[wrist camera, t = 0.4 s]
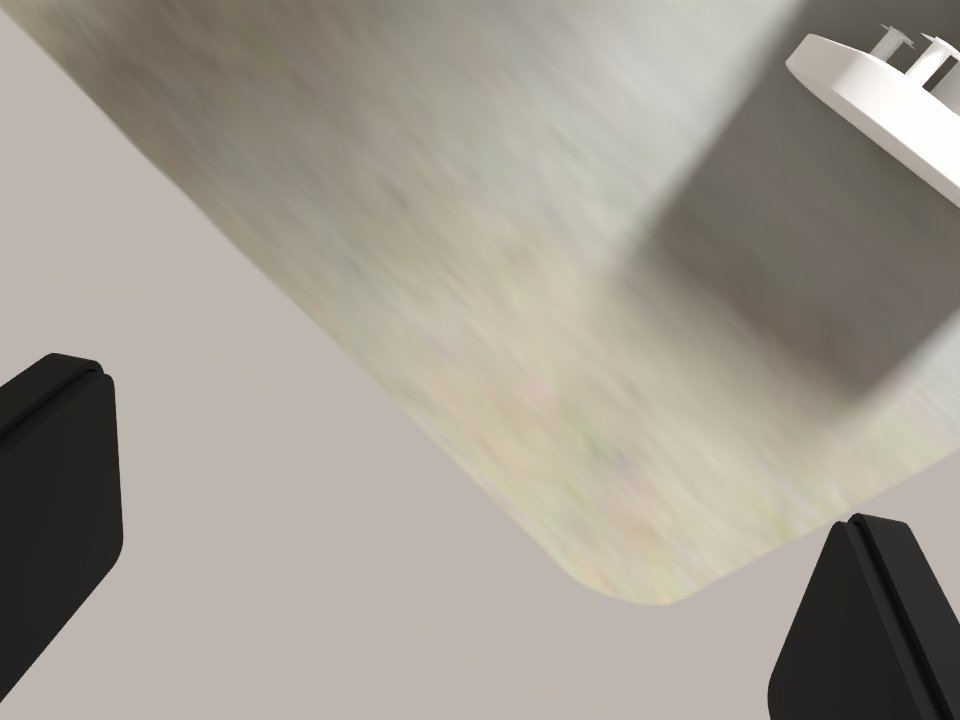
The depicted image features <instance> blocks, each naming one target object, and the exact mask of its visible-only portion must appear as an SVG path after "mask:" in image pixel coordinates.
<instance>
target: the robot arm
mask: <svg viewBox="0 0 960 720" xmlns="http://www.w3.org/2000/svg"><path fill="white" fill-rule="evenodd" d="M122 545H123V522H122V506H121V490H120V472H119V456H118V438H117V421H116V404H115V387H114V382H113V379H112V377H111V376H109V375H107V374H104V372H103V369H102V367H101V365H100V364H99V363H98V362H97V361H93V360H88V359H84V358H78V357H73V356H69V355H63V354H58V353H51V354H48V355H46V356H44V357H43V358H42V359H40V360H39V361H37V362H36V363H34V364H33V365H32V366H30V367H29V368H27V369H26V370H24V371H23V372H21V373H20V374H19V375H17V376H16V377H14V378H13V379H11V380H10V381H9V382H7V383H6V384H4V385H3V386H1V387H0V703H1V701H2V700H3V699H4V698H5V697H6V695H7V694H8V693H9V692H10V691H11V689H12V688H13V687H14V686H15V684H16V683H17V682H18V681H19V680H20V678H21V677H22V676H23V675H24V674H25V672H26V671H27V670H28V669H29V668H30V666H31V665H32V664H33V663H34V662H35V660H36V659H37V658H38V657H39V655H40V654H41V653H42V652H43V651H44V650H45V648H46V647H47V646H48V645H49V643H50V642H51V641H52V640H53V639H54V637H55V636H56V635H57V634H58V633H59V631H60V630H61V629H62V628H63V627H64V625H65V624H66V623H67V621H68V620H69V619H70V618H71V617H72V616H73V614H74V613H75V612H76V611H77V610H78V608H79V607H80V606H81V605H82V604H83V602H84V601H85V600H86V599H87V598H88V596H89V595H90V594H91V593H92V591H93V590H94V589H95V588H96V587H97V586H98V584H99V583H100V582H101V581H102V579H103V578H104V577H105V576H106V575H107V573H108V572H109V571H110V570H111V569H112V567H113V566H114V564H115V563H116V561H117V559H118V557H119V555H120V552H121V549H122ZM768 709H769V714H770V719H771V720H960V624H959V622H958V620H957V618H956V616H955V614H954V612H953V610H952V608H951V606H950V604H949V602H948V600H947V598H946V597H945V595H944V593H943V591H942V589H941V587H940V585H939V583H938V581H937V579H936V577H935V575H934V573H933V572H932V569H931V568H930V566H929V564H928V562H927V560H926V558H925V556H924V554H923V552H922V550H921V548H920V546H919V544H918V542H917V541H916V539H915V537H914V535H913V533H912V531H911V529H910V528H909V526H908V525H907V524H906V523H904V522H900V521H895V520H890V519H885V518H880V517H875V516H870V515H865V514H860V513H856V514H854V515H853V516H852V517H851V518H850V519H849V520H848V522H847V523H846V522H841V521H838V522H836V523H835V524H834V525H833V526H832V528H831V530H830V532H829V535H828V537H827V540H826V542H825V544H824V547H823V549H822V552H821V554H820V557H819V559H818V562H817V564H816V567H815V569H814V571H813V574H812V576H811V579H810V581H809V584H808V586H807V589H806V591H805V594H804V596H803V599H802V601H801V603H800V606H799V608H798V611H797V613H796V616H795V618H794V621H793V623H792V625H791V628H790V631H789V633H788V635H787V638H786V640H785V643H784V645H783V648H782V650H781V653H780V655H779V657H778V660H777V662H776V665H775V667H774V670H773V672H772V675H771V678H770V681H769V686H768Z"/></svg>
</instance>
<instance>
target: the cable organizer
mask: <svg viewBox="0 0 960 720" xmlns="http://www.w3.org/2000/svg"><path fill="white" fill-rule="evenodd" d="M880 25H881V26H883V27H884V28H885V29H887V30H888V33H887V34H886V35H885V36H884V37H883V38H882V40H881V41H880V42H879V43H878V44H877V45H876V46H875V48H874V49H873V50H872V51H871V52H870V53H869V54H868V53H865V52H862V51H859V50H857V49H854V48H851V47H848V46H845V45H843V44H840V43H837V42H834V41H831V40H829V39H826V38H823V37H820V36H818V35H815V34H808V35H807V36H806V37H805V39H804V40H803V41H802V42H801V44H800V45H799V46H798V47H797V48H796V50H795V51H794V52H793V53H792V55H791V56H790V57H789V58H788V59H787V61H786V66H787V68H788V69H789V70H790V72H791V73H792V74H793V75H794V76H795V77H796V78H797V79H798V80H799V81H800V82H801V83H802V84H803V85H804V86H805V87H806V88H807V89H808V90H810V91H811V92H812V93H813V94H814V95H815V96H817V97H818V98H819V99H820V100H822V101H823V102H824V103H825V104H827V105H828V106H829V107H831V108H832V109H833V110H834V111H836V112H837V113H838V114H839V115H841V116H842V117H843V118H845V119H846V120H847V121H848V122H850V123H851V124H852V125H854V126H855V127H856V128H857V129H859V130H860V131H861V132H863V133H864V134H865V135H866V136H868V137H869V138H870V139H872V140H873V141H874V142H875V143H877V144H878V145H879V146H881V147H882V148H883V149H884V150H886V151H887V152H888V153H890V154H891V155H892V156H893V157H895V158H896V159H897V160H898V161H900V162H901V163H902V164H904V165H905V166H906V167H907V168H909V169H910V170H911V171H913V172H914V173H915V174H916V175H918V176H919V177H920V178H922V179H923V180H924V181H925V182H927V183H928V184H929V185H931V186H932V187H933V188H934V189H936V190H937V191H938V192H940V193H941V194H942V195H943V196H945V197H946V198H947V199H948V200H950V201H951V202H952V203H954V204H955V205H956V206H957V207H959V208H960V52H958V51H957V50H956V49H955V48H953V47H952V46H951V45H950V44H948V43H947V42H945V41H943V40H941V39H940V38H938V37H936V38H932V37H930V36H927V35H925V34H923V35H924V36H925V37H926V38H928V39H929V40H930V41H932V42H933V43H932V44H931V45H930V46H929V48H928V49H927V50H926V51H925V52H924V53H923V54H922V55H921V57H920V58H919V59H918V60H917V61H916V62H915V63H914V64H913V65H912V67H911V68H910V69H909V70H908V71H907V72H906V73H905V74H903V73H901V72H900V71H898V70H897V69H895V68H894V67H892V66H890V65H889V64H887V63H885V62H886V61H887V60H888V59H889V58H890V57H891V55H892V54H893V53H894V52H895V51H896V50H897V49H898V47H899V46H900V45H901V44H902V43H903V42H905V43H906V44H907V45H909V46H910V47H912V48H913V49H915V48H914V47H913V45H912V44H915V43H913V42H912V41H911V40H910V39H909V38H908V37H907V36H906V35H904V34H903V33H902V32H900V31H898V30H897V29H895V28H893V27H891V26H890V28H889V27H887V26H884V25H882V24H880ZM921 34H922V33H921ZM911 43H912V44H911ZM915 50H916V49H915ZM916 51H917V50H916ZM950 55H951V56H953V57H954V58H956V59H957V60H959V61H958V62H957V63H956V64H955V65H954V67H953V68H952V69H951V70H950V71H949V72H948V73H947V74H946V75H945V76H944V77H943V79H942V80H941V81H940V82H939V83H938V84H937V85H936V86H935V87H934V88H933V89H932V91H931V92H930V93H929V92H927V91H926V90H925V89H923V88H922V86H923V84H924V83H925V82H926V81H927V80H928V79H929V78H930V77H931V76H932V75H933V74H934V72H935V71H936V70H937V69H938V68H939V67H940V66H941V65H942V64H943V63H944V61H945V60H946V59H947V58H948V57H949V56H950Z"/></svg>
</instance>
